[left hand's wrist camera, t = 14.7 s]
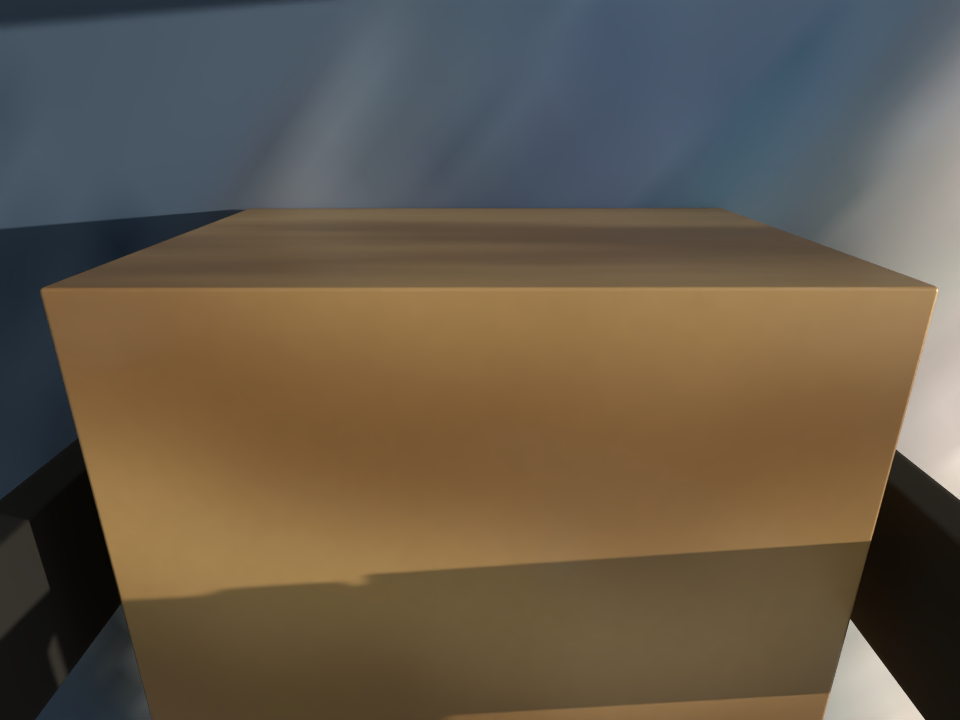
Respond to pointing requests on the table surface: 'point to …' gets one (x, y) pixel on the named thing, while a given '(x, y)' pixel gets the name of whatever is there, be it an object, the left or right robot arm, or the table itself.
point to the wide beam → (488, 460)
